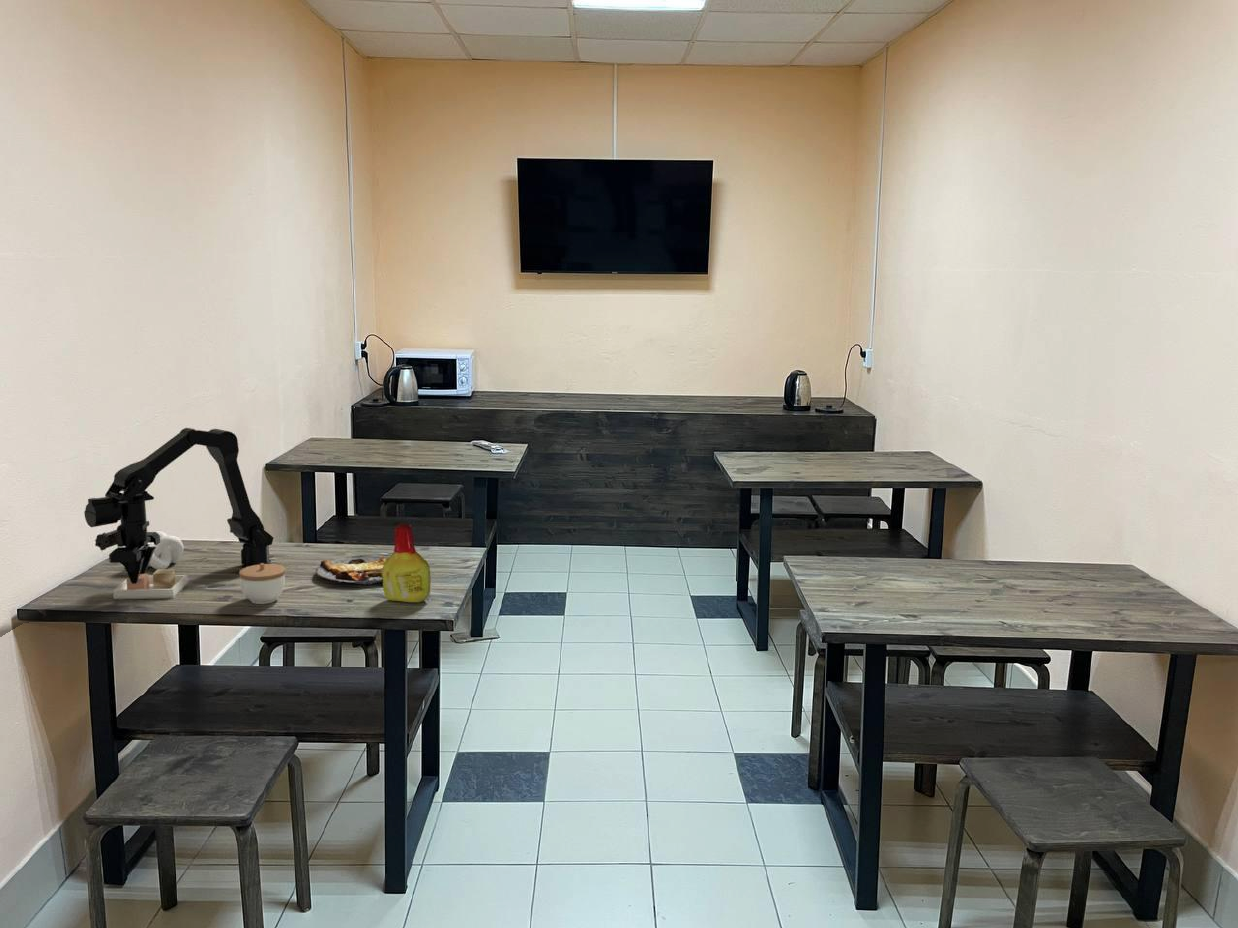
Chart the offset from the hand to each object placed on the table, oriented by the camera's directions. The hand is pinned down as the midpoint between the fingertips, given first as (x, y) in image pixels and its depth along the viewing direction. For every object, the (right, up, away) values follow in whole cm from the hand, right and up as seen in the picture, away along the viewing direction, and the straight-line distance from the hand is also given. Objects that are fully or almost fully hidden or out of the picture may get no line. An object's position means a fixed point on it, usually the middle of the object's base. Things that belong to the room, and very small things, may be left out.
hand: (137, 580), depth 241 cm
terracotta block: (0, -3, +1) cm, 3 cm away
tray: (+2, -3, +3) cm, 5 cm away
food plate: (+51, -1, +21) cm, 55 cm away
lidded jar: (+32, -5, -1) cm, 32 cm away
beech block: (+4, -2, +5) cm, 7 cm away
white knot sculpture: (-6, +1, +23) cm, 23 cm away
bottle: (+67, -5, +1) cm, 67 cm away
